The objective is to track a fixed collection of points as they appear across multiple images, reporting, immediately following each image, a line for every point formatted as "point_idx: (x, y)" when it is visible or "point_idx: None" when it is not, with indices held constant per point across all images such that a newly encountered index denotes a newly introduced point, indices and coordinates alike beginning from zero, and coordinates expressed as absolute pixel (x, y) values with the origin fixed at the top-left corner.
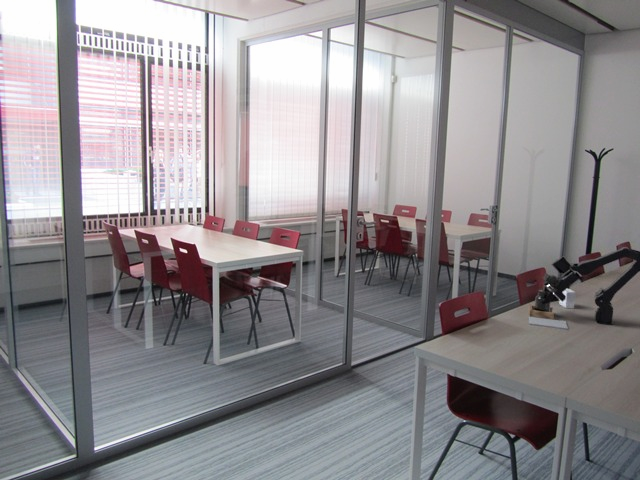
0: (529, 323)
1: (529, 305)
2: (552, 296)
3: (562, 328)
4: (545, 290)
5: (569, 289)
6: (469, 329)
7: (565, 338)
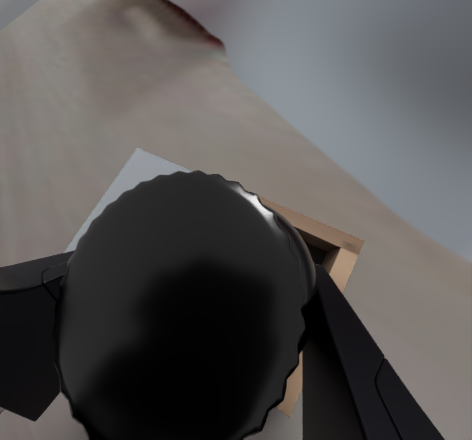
0: (137, 148)
1: (341, 232)
2: (18, 328)
3: (69, 251)
4: (203, 405)
5: None
6: (143, 6)
7: (16, 203)
